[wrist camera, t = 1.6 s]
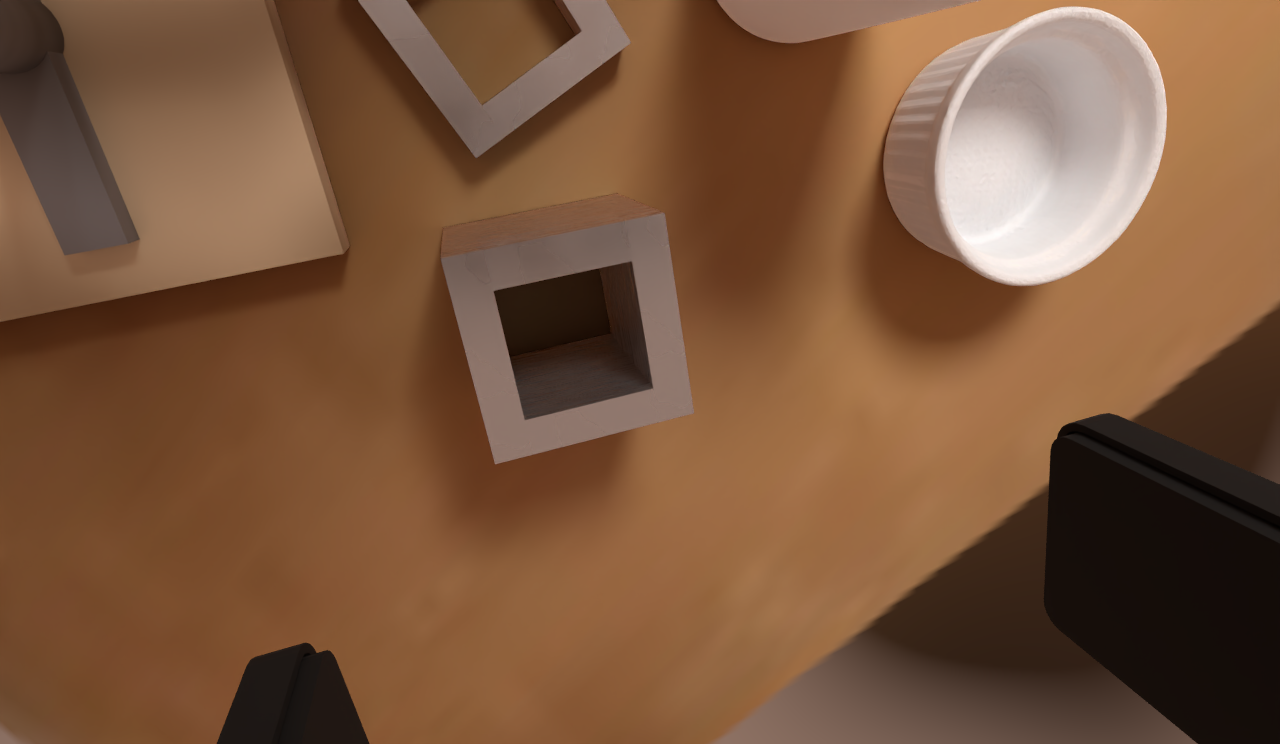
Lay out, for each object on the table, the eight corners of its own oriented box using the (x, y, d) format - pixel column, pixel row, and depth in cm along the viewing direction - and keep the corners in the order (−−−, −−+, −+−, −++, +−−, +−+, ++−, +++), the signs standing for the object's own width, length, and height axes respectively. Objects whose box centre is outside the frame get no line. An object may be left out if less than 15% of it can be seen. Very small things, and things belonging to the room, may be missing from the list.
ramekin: (917, 306, 29) (991, 335, 25) (828, 111, 26) (897, 109, 22) (1092, 184, 30) (1192, 193, 26) (1027, -27, 26) (1132, -54, 22)
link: (443, 227, 24) (440, 258, 18) (617, 193, 25) (664, 212, 19) (485, 392, 26) (494, 464, 20) (644, 354, 27) (694, 413, 21)
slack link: (343, -20, 21) (337, -28, 20) (507, -142, 21) (511, -157, 20) (475, 156, 23) (476, 158, 22) (622, 46, 23) (631, 42, 22)
